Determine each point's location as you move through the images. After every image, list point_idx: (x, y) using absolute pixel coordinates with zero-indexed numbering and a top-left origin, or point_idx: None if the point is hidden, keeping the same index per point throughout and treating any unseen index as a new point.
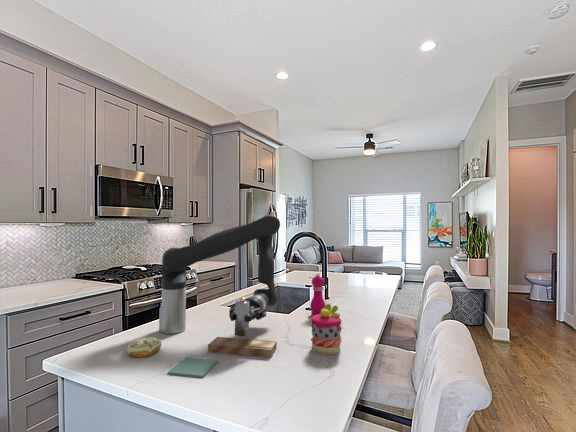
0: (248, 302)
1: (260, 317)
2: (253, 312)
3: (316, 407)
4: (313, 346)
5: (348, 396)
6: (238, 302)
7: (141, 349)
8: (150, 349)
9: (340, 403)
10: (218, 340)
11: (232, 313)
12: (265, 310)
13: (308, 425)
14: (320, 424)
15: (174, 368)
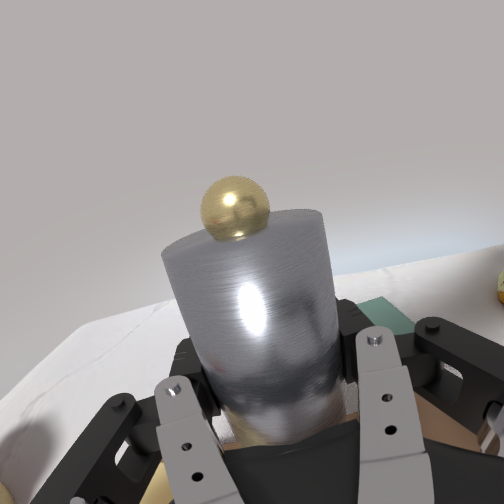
0: (171, 247)
1: (124, 460)
2: (162, 388)
3: (93, 336)
4: (3, 500)
5: (46, 360)
6: (271, 216)
7: (501, 272)
8: (500, 284)
9: (63, 348)
10: (442, 430)
11: (370, 323)
12: (43, 497)
13: (112, 317)
14: (100, 321)
15: (386, 306)
